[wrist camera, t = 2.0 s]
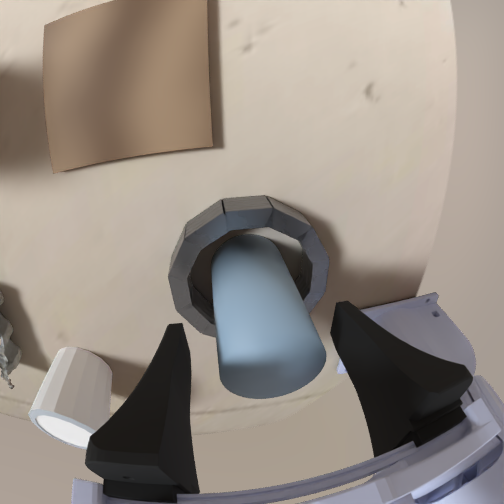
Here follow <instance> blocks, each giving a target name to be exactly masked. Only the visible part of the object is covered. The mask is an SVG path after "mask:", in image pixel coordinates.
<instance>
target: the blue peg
mask: <svg viewBox="0 0 504 504" xmlns="http://www.w3.org/2000/svg"><path fill="white" fill-rule="evenodd" d="M211 273H212V289H213V304H214V317H215V330H216V342H217V353H218V364H219V374H220V380H221V382H222V384H223V385H224V387H225V388H226V389H228V390H229V391H230V392H232V393H234V394H236V395H238V396H242V397H246V398H253V399H266V398H274V397H279V396H283V395H286V394H289V393H292V392H294V391H296V390H298V389H300V388H302V387H304V386H305V385H307V384H308V383H309V382H311V381H312V380H313V379H314V378H315V377H316V376H317V375H318V374H319V373H320V372H321V370H322V369H323V367H324V364H325V362H326V351H325V348H324V346H323V343H322V341H321V339H320V337H319V335H318V332H317V330H316V328H315V326H314V324H313V322H312V319H311V317H310V315H309V313H308V311H307V309H306V307H305V304H304V302H303V300H302V298H301V296H300V294H299V292H298V289H297V287H296V285H295V283H294V281H293V279H292V277H291V275H290V273H289V271H288V268H287V266H286V264H285V262H284V260H283V258H282V256H281V254H280V252H279V250H278V248H277V247H276V246H275V244H274V243H272V242H271V241H270V240H268V239H267V238H265V237H262V236H259V235H252V234H246V235H240V236H236V237H234V238H231V239H229V240H228V241H226V242H225V243H223V244H222V245H221V246H220V247H219V248H218V250H217V251H216V253H215V254H214V256H213V259H212V263H211Z"/></svg>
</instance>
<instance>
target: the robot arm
mask: <svg viewBox="0 0 504 504" xmlns="http://www.w3.org/2000/svg"><path fill="white" fill-rule="evenodd" d="M437 299H438V294H437V293H436V292H434V293H430V294H427V295H423V296H419V297H415V298H411V299H407V300H402V301H398V302H394V303H389V304H385V305H381V306H376V307H371V308H367V309H362V310H359V309H358V308H356V307H355V306H354V305H353V304H351V303H350V302H349V301H344V302H338V303H336V307H335V312H334V317H333V322H332V327H331V332H330V334H331V337H332V340H333V343H334V345H335V348H336V351H337V353H338V355H339V357H340V360H339V364H338V367H337V373H338V374H343V373H348V375H349V377H350V379H351V381H352V383H353V385H354V387H355V389H356V391H357V394H358V397H359V400H360V402H361V406H362V409H363V412H364V415H365V418H366V422H367V426H368V429H369V433H370V438H371V443H372V448H373V453H374V458H372V459H370V460H367V461H365V462H362V463H359V464H356V465H353V466H350V467H347V468H344V469H341V470H338V471H335V472H331V473H328V474H324V475H321V476H317V477H314V478H309V479H305V480H301V481H296V482H292V483H287V484H282V485H277V486H271V487H265V488H259V489H252V490H243V491H235V492H223V493H208V494H199V493H200V490H199V485H198V479H197V474H196V468H195V461H194V455H193V446H192V437H191V426H190V394H191V357H190V350H189V347H188V343H187V339H186V335H185V332H184V328H183V324H182V323H177V324H169V325H168V326H167V328H166V331H165V334H164V336H163V338H162V341H161V343H160V345H159V347H158V349H157V351H156V353H155V355H154V357H153V359H152V361H151V363H150V365H149V367H148V368H147V370H146V372H145V374H144V375H143V377H142V379H141V380H140V382H139V383H138V385H137V386H136V388H135V389H134V391H133V392H132V393H131V395H130V396H129V397H128V398H127V400H126V401H125V402H124V403H123V405H122V406H121V407H120V408H119V409H118V410H117V411H116V412H115V414H114V415H113V416H112V417H111V418H110V419H109V420H108V421H107V422H106V423H105V424H104V425H103V426H101V427H100V428H99V429H98V430H97V431H96V432H95V433H93V434H92V435H91V436H90V438H89V442H88V445H87V452H86V459H85V464H86V466H87V467H88V468H89V469H90V470H91V471H92V472H94V473H96V474H97V475H99V476H100V477H102V478H103V479H104V483H103V484H100V483H97V482H92V481H87V480H82V479H77V478H74V479H73V489H72V501H71V504H266V503H272V502H278V501H283V500H288V499H293V498H297V497H301V496H306V495H310V494H314V493H317V492H321V491H325V490H328V489H332V488H335V487H338V486H341V485H344V484H347V483H350V482H353V481H356V480H359V479H361V478H364V477H367V476H370V475H372V474H375V473H376V474H375V475H373V477H372V478H371V479H370V480H368V481H367V482H365V483H364V484H361V485H358V486H355V487H352V488H349V489H346V490H343V491H340V492H336V493H333V494H330V495H326V496H323V497H319V498H316V499H312V500H309V501H305V502H301V503H297V504H504V404H503V402H502V401H501V399H500V398H499V396H498V395H497V393H496V392H495V391H494V389H493V388H492V387H491V386H490V384H489V383H488V382H487V381H486V380H485V379H484V378H483V377H482V376H474V373H475V369H476V359H475V354H474V350H473V348H472V345H471V344H470V342H469V340H468V339H467V338H466V337H465V335H463V333H462V332H461V331H460V329H459V328H458V327H457V326H456V325H455V324H454V322H453V321H452V320H451V319H450V318H449V317H448V316H447V314H446V313H445V312H444V311H443V310H442V309H441V308H440V307H439V306H438V304H437V303H436V302H437Z"/></svg>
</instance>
